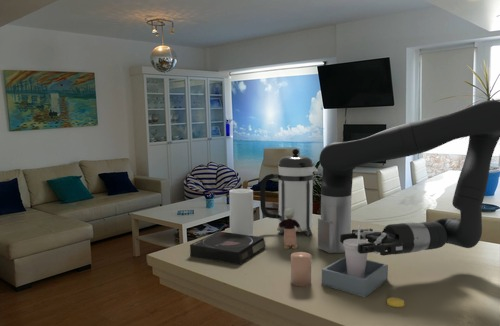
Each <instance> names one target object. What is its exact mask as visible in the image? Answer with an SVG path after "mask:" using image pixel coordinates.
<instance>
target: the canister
mask: <svg viewBox="0 0 500 326" xmlns="http://www.w3.org/2000/svg"><path fill="white" fill-rule="evenodd" d="M290 284H291V285H292V286H296V287H308V286H311V284H312V254H311V253H308V252H305V251H296V252H292V253H291V254H290Z"/></svg>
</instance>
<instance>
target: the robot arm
mask: <svg viewBox="0 0 500 326" xmlns="http://www.w3.org/2000/svg"><path fill="white" fill-rule="evenodd" d="M466 137H468V138H469V139H468V145H467V150H466V155H465V159H464V162H463V165H462V166H461V167H462V168H461V170H460V173H459V177H458V180H457V183H456V186H455V191H454V193H453V197H452V206H453V208H455V209H457V211H458V210H459V212H460V218H456V217H455V218H454V217H443V218H438V219H435V220H433V221H425V222H424V221H423V222H422V221H421V222H404V223H403V222H402V223H390V224H387V225H386V226H385V227H384V228H383V230H382V231H381V230H374V229H373V228H360V239H362V240H366V241H368V242H369V243H361V244H358V252H359V253H360V254H362V253H368V254H369V253H371V254H372V253H373V254H379V255H380V256H381V257H384V256H389V255H401V254H402V255H403V254H411V253H418V252H419V253H420V252H421V251H428V250H436V249H439V248H442V247H444V246H445V245H446V244H449V245H454V246H456V247H457V246H458V247H461V248H465V249H472V248H475V246H477V244H478V243H479V242H480V241H481V239H482V233H483V221H482V217H483V216H482V206H483V202H484V200H485V195H486V192H487V188H488V187H487V186H488V182H489V175H490V170H491V169H490V167H491V163H492V158H493V155H494V151H495V148H496V147H497V145H498V142H499V140H500V100H496V99H495V100H494V99H491V100H490V99H488V100H484V101H480V102H478V103H475V104H472V105H470V106H468V107H465V108H462V109H458V110H457V111H453V112H450V113H447V114H442V115H436V116H431V117H427V118H424V119H420V120H415V121H411V122H406V123H403V124H400V125H396V126H392V127H390V128H387V129H384V130H382V131H379V132H377V133H374V134H372V135H370V136H367V137H363V138H360V139H355V140H349V141H341V142H340V141H334V142H331V143H329V144H327V145H325V146H324V147H323V149H322V150H321V151H320V153H319V159H318V160H319V163H320V166H321V168H322V181H321V186H320V217H319V218H318V219H317V248H318V249H320V250H321V251H324V252H325V253H326V252H327V253H328V254H334V253H335V254H343V253H344V254H345V247H344V246H343V241H344V240H346V239H358V229H352V197H353V196H352V194H353V193H352V191H353V179H354V178H353V177H354V176H353V175H354V168H357V167H360V166H364V165H365V164H366V165H367V164H372V163H376V162H384V161H389V160H396V159H402V158H406V157H411V156H415V155H419V154H422V153H427V152H429V151H431V150H432V151H433V150H434V149H436V148H438V147H441V146H443V145H445V144H447V143H449V142H452V141H454V140H458V139H461V138H466Z"/></svg>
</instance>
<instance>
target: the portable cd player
mask: <svg viewBox="0 0 500 326" xmlns="http://www.w3.org/2000/svg"><path fill="white" fill-rule="evenodd" d="M189 247H190V248H189V250H190V251H189V252H190V257H193V258H197V259H203V260H209V261H215V262H221V263H226V264H233V265H238V266H239V265H242V264H243V263H244V262H246V261H248V260H249V259H251V258H252V257H253V256H255V255H256V254H258V253H260V252H261V251H263V250H264V249H265V248H266V241H265V238H264V237H263V236H257V235H256V236H255V235H253V236H249V235H242V234H234V233H230V232H225V231H216V232H215V233H212V234H211V235H208V236H207V237H204V238H202V239H199V240H198V241H195V242H194V243H193V242H192V243H190V244H189Z"/></svg>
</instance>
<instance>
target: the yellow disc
mask: <svg viewBox="0 0 500 326" xmlns="http://www.w3.org/2000/svg"><path fill="white" fill-rule="evenodd" d="M386 304H387V305H388V306H390V307H392V308H403V307H404V306H405V300H404V299H402V298H399V297H388V298H387V299H386Z"/></svg>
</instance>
